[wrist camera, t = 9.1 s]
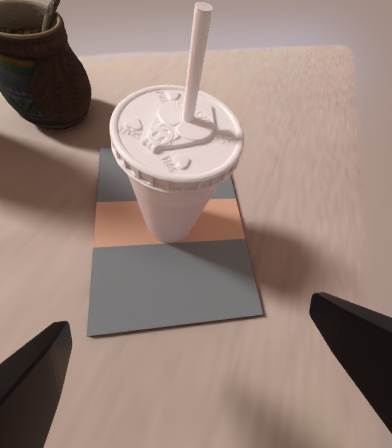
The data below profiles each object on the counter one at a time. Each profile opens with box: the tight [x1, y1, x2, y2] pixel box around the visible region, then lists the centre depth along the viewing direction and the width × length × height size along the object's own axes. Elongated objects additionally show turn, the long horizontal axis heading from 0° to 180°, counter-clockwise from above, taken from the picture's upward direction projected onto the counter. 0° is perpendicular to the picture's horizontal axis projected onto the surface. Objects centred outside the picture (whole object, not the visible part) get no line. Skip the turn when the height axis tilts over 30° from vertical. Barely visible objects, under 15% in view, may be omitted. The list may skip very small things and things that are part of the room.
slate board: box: [87, 147, 263, 336], centre depth 20 cm, size 16×12×1 cm
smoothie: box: [109, 2, 244, 243], centre depth 13 cm, size 6×6×14 cm
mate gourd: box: [0, 0, 91, 129], centre depth 20 cm, size 7×8×10 cm
